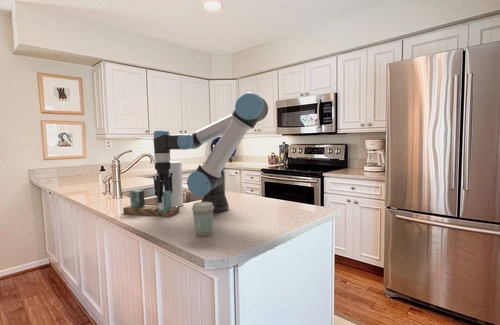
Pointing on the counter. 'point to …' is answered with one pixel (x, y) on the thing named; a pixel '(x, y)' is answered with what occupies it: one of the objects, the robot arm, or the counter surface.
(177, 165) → the tall pillar cylinder
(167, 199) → the block
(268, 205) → the counter surface
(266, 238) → the counter surface
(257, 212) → the counter surface
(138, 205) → the rail
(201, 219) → the coffee cup
